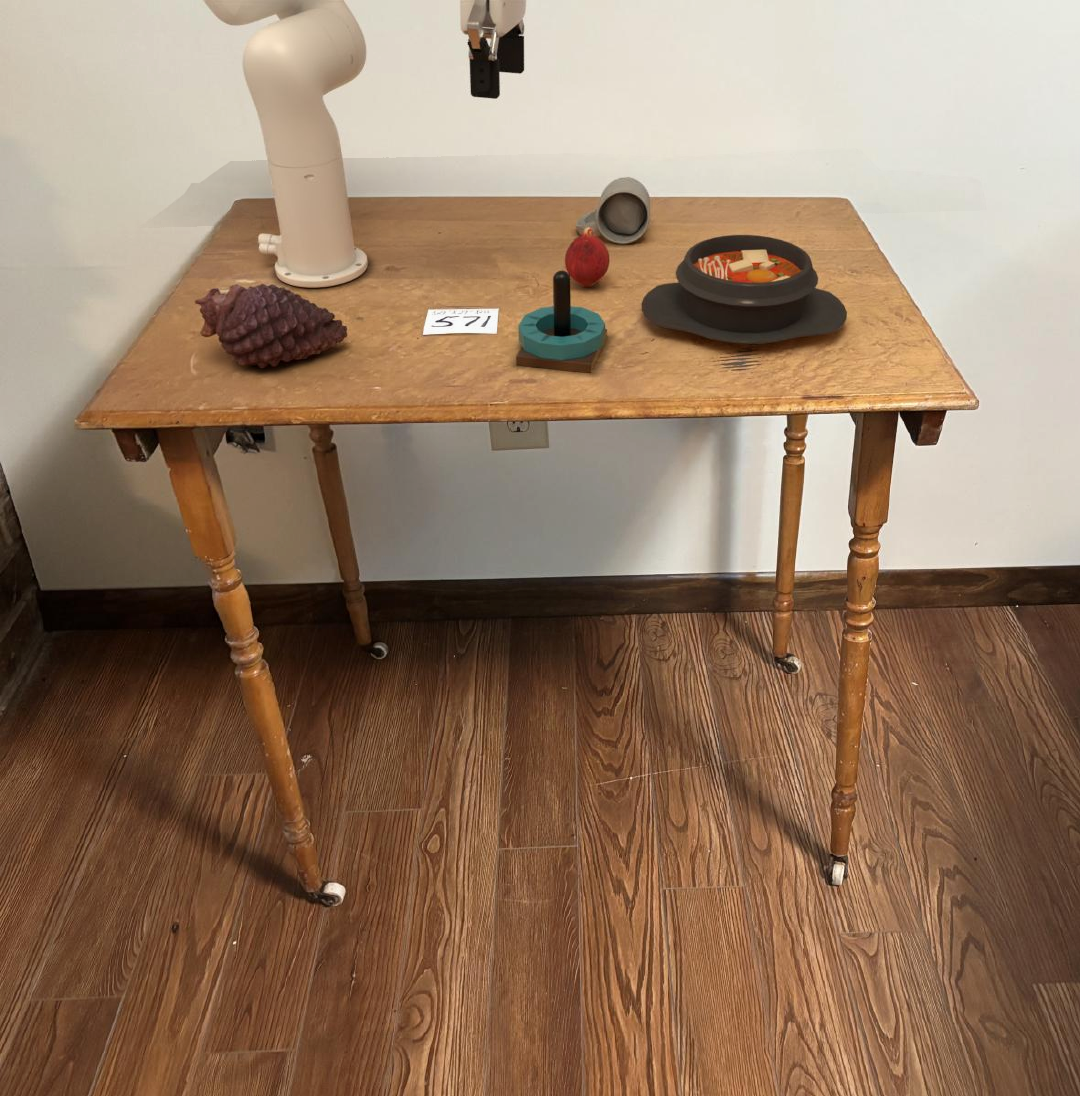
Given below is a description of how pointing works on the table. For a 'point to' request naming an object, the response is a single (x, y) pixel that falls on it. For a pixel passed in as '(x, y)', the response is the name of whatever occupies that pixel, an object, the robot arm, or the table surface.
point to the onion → (587, 259)
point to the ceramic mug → (620, 212)
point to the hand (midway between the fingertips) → (498, 84)
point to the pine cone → (268, 324)
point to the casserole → (745, 293)
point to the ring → (561, 346)
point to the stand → (561, 332)
